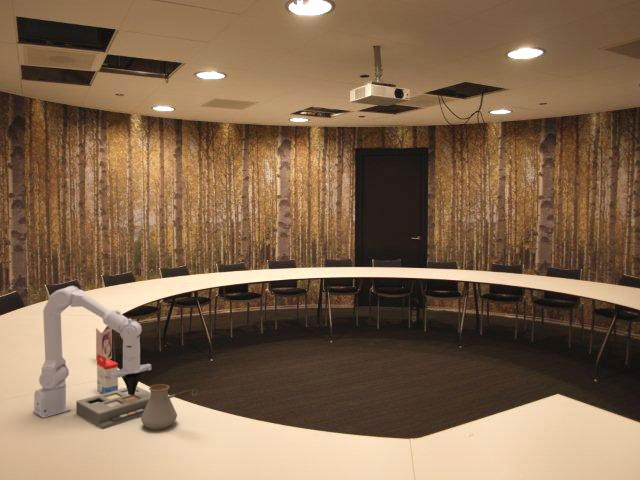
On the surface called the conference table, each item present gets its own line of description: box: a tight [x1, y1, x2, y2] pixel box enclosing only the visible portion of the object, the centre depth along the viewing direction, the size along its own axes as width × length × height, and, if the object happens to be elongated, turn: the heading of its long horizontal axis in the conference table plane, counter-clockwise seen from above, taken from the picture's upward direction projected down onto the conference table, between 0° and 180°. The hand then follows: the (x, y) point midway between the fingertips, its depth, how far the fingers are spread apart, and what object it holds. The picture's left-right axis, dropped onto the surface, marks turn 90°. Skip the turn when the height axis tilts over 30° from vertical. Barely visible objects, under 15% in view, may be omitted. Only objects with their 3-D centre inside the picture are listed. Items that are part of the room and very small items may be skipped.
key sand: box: [106, 395, 121, 404], centre depth 182 cm, size 4×4×2 cm
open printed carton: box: [95, 327, 113, 361], centre depth 238 cm, size 11×7×15 cm, turn 179°
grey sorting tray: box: [75, 386, 151, 430], centre depth 180 cm, size 22×18×4 cm
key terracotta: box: [122, 396, 138, 404], centre depth 181 cm, size 4×4×2 cm
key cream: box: [106, 401, 121, 407], centre depth 176 cm, size 4×4×2 cm
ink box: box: [96, 354, 119, 394], centre depth 199 cm, size 8×5×15 cm, turn 47°
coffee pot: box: [140, 383, 198, 431], centre depth 167 cm, size 21×12×15 cm, turn 62°
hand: (131, 394), depth 181 cm, fingers closed
